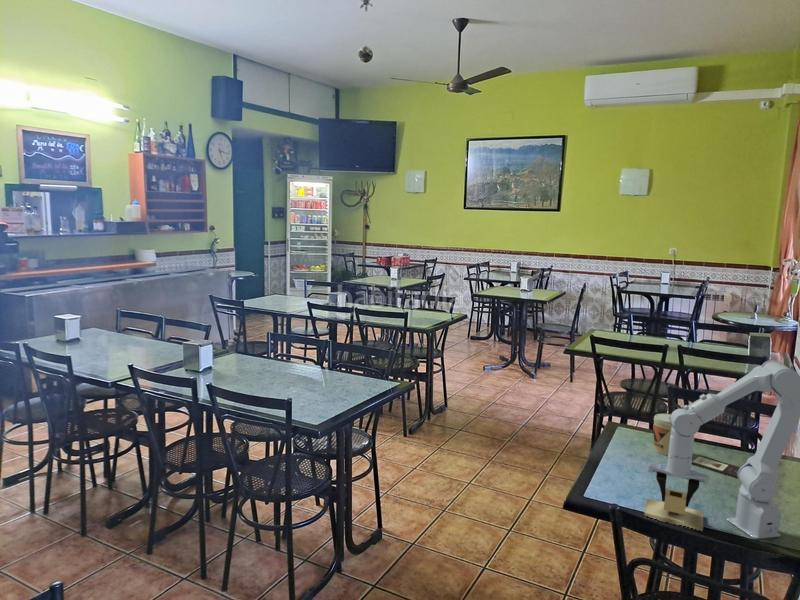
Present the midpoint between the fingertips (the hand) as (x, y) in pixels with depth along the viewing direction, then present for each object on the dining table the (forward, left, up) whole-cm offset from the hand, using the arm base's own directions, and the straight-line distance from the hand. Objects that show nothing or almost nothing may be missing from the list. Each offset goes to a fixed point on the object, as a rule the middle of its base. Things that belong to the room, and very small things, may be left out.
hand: (675, 502), depth 155 cm
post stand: (0, 0, -4) cm, 4 cm away
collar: (0, 0, -2) cm, 2 cm away
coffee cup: (+40, -27, -4) cm, 48 cm away
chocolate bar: (+24, -37, -5) cm, 44 cm away
